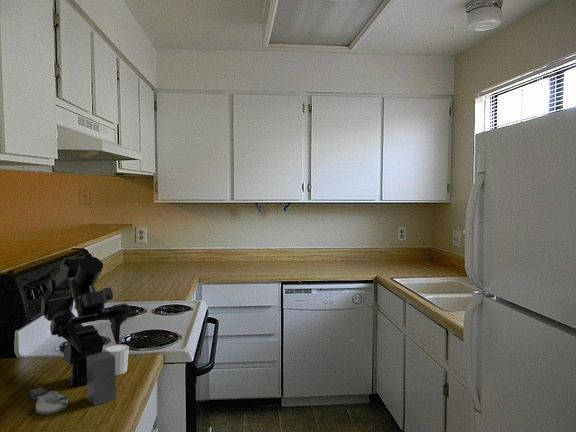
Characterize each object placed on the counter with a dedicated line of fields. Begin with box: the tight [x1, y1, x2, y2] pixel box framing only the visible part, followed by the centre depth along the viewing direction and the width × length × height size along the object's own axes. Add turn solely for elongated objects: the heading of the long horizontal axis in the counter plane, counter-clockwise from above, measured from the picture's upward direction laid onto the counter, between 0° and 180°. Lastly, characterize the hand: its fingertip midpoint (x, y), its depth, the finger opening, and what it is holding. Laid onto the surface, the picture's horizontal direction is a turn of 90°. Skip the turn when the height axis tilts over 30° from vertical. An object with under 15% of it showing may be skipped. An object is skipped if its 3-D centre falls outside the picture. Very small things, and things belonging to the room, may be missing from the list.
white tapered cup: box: [103, 343, 130, 376], centre depth 127 cm, size 7×7×7 cm
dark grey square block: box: [86, 351, 117, 407], centre depth 110 cm, size 5×5×11 cm
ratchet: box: [29, 386, 69, 415], centre depth 108 cm, size 13×7×4 cm, turn 50°
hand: (99, 347), depth 110 cm, fingers open, 9 cm apart
